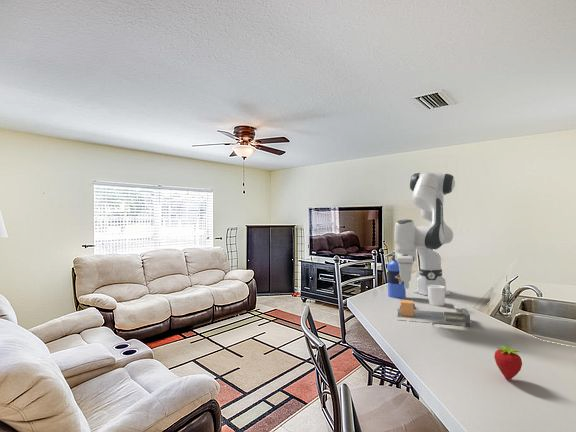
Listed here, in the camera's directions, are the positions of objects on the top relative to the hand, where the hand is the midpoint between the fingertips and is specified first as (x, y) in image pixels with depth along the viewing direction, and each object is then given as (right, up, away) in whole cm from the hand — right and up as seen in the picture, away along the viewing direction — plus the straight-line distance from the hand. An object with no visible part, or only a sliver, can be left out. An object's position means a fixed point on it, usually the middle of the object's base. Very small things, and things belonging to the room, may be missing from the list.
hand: (406, 287), depth 138 cm
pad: (+4, -13, +10) cm, 17 cm away
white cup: (+21, -13, +15) cm, 29 cm away
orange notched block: (0, -12, 0) cm, 12 cm away
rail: (+10, -13, -4) cm, 16 cm away
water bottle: (+7, -14, +33) cm, 36 cm away
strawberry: (+7, -12, -54) cm, 56 cm away
